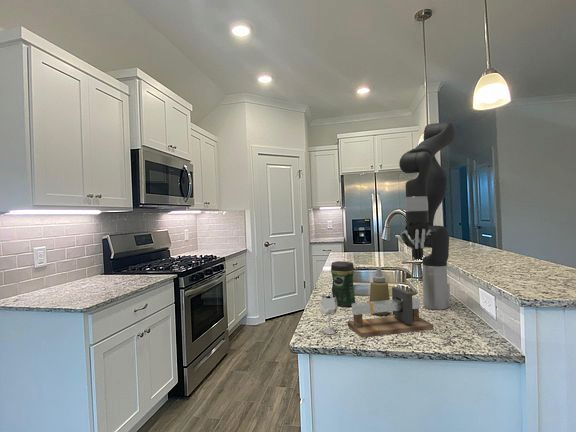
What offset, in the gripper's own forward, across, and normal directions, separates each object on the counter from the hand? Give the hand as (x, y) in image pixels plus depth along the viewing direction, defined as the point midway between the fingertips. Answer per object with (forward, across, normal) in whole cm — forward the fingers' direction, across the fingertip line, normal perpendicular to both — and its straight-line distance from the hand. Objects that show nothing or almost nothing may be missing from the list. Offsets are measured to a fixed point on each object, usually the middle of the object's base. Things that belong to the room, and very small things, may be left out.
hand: (417, 258), depth 122 cm
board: (+23, +12, 0) cm, 26 cm away
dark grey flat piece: (+21, +7, 0) cm, 22 cm away
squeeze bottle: (+23, +8, -15) cm, 29 cm away
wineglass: (+23, +32, -2) cm, 40 cm away
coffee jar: (+23, +16, -31) cm, 42 cm away
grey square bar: (+17, +12, 0) cm, 21 cm away
